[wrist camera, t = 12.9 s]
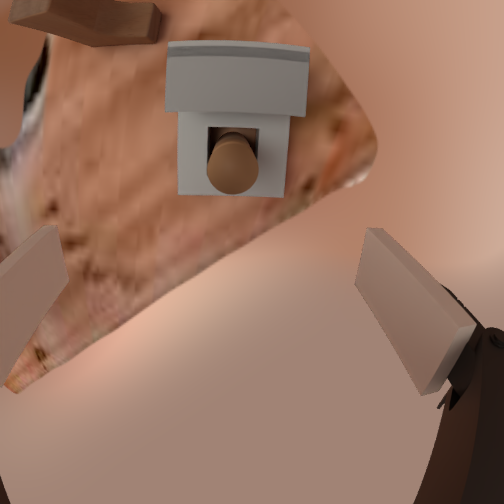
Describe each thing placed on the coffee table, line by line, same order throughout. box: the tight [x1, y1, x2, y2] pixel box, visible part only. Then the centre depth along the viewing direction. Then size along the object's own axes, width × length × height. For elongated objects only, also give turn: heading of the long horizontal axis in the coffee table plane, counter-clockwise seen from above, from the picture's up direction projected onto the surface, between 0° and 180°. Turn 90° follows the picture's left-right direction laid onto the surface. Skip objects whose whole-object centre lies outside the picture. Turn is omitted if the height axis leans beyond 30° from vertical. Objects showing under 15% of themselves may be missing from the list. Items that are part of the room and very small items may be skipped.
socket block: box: [165, 40, 310, 198], centre depth 30 cm, size 12×16×11 cm
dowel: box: [207, 132, 259, 195], centre depth 30 cm, size 4×4×14 cm
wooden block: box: [8, 0, 162, 47], centre depth 20 cm, size 9×4×18 cm, turn 82°
